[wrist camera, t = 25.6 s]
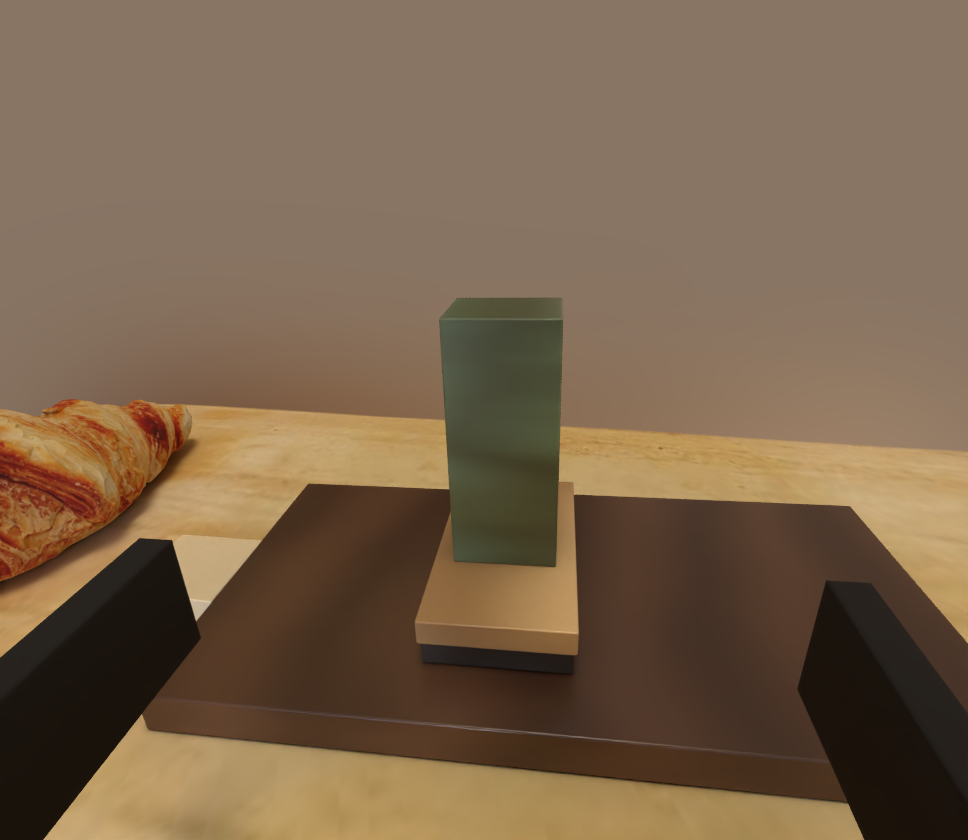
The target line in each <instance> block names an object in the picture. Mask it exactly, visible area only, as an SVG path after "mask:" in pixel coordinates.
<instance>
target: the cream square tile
mask: <svg viewBox="0 0 968 840" xmlns="http://www.w3.org/2000/svg"><path fill="white" fill-rule="evenodd" d="M261 541H262V540H251V539H237V538H224V537H210V536H197V535H182V536H180V537H179V538H178V539H177V540H176V541H175V542H174V543H173V545H174V549H175V552H176V555H177V559H178V562H179V565H180V569H181V572H182V575H183V579H184V582H185V585H186V589H187V592H188V595H189V599H190V602H191V606H192V609H193V612H194V616H195V619H196V621H197V620H198V618H199V617H200V616H201V615H202V613H203V612H204V611H205V610H206V609H207V607H208V606H209V605H210V604H211V602H212V601H213V600H214V599H215V598H216V596H217V595H218V594H219V593H220V591H221V590H222V589H223V588H224V587H225V585H226V584H227V583H228V582H229V580H230V579H231V578H232V577H233V575H234V574H235V573H236V572H237V571H238V569H239V568H240V567H241V566H242V564H243V563H244V562H245V561H246V560H247V558H248V557H249V556H250V555H251V553H252V552H253V551H254V550H255V549H256V547H257V546H258V545H259V544H260V542H261Z"/></svg>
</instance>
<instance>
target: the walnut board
mask: <svg viewBox="0 0 968 840" xmlns="http://www.w3.org/2000/svg"><path fill="white" fill-rule="evenodd" d="M450 512H451V507H450V490H448V489H424V488H400V487H376V486H352V485H328V484H308V485H307V486H306V487H305V489H304V490H303V491H302V492H301V493H300V495H299V496H298V497H297V498H296V500H295V501H294V502H293V503H292V504H291V506H290V507H289V508H288V509H287V511H286V512H285V513H284V514H283V515H282V517H281V518H280V519H279V520H278V522H277V523H276V524H275V525H274V526H273V528H272V529H271V530H270V531H269V533H268V534H267V535H266V536H265V538H264V539H263V540H262V541H261V542H260V544H259V545H258V546H257V547H256V549H255V550H254V551H253V552H252V553H251V555H250V556H249V557H248V558H247V560H246V561H245V562H244V563H243V564H242V566H241V567H240V568H239V569H238V571H237V572H236V573H235V574H234V575H233V577H232V578H231V579H230V580H229V582H228V583H227V584H226V585H225V587H224V588H223V589H222V590H221V591H220V593H219V594H218V595H217V596H216V598H215V599H214V600H213V601H212V602H211V604H210V605H209V606H208V607H207V609H206V610H205V611H204V612H203V613H202V615H201V616H200V617H199V618H198V620H197V621H196V622H197V626H198V629H199V632H200V636H201V639H200V640H199V642H198V643H197V644H196V645H195V647H194V648H193V649H192V650H191V652H190V653H189V654H188V656H187V657H186V658H185V659H184V661H183V662H182V663H181V665H180V666H179V667H178V668H177V670H176V671H175V672H174V673H173V675H172V676H171V677H170V679H169V680H168V681H167V682H166V684H165V685H164V686H163V687H162V689H161V690H160V691H159V693H158V694H157V695H156V696H155V698H154V699H153V700H152V702H151V703H150V704H149V705H148V707H147V708H146V709H145V710H144V712H143V713H142V715H143V718H144V720H145V723H146V725H147V728H148V729H153V730H163V731H172V732H182V733H191V734H201V735H211V736H220V737H230V738H240V739H249V740H259V741H269V742H278V743H288V744H298V745H307V746H317V747H327V748H336V749H346V750H356V751H365V752H375V753H384V754H394V755H404V756H413V757H423V758H433V759H442V760H452V761H462V762H471V763H481V764H491V765H500V766H510V767H520V768H529V769H539V770H548V771H558V772H568V773H577V774H587V775H597V776H606V777H616V778H626V779H635V780H645V781H655V782H664V783H674V784H684V785H693V786H703V787H712V788H722V789H732V790H741V791H751V792H761V793H770V794H780V795H790V796H799V797H809V798H819V799H828V800H838V801H847V800H846V797H845V795H844V793H843V791H842V788H841V786H840V784H839V782H838V780H837V777H836V775H835V773H834V771H833V768H832V766H831V764H830V762H829V759H828V757H827V755H826V753H825V750H824V748H823V746H822V744H821V741H820V739H819V737H818V735H817V733H816V730H815V728H814V726H813V724H812V721H811V719H810V717H809V715H808V712H807V710H806V708H805V706H804V703H803V701H802V699H801V697H800V694H799V692H798V690H797V688H798V684H799V680H800V676H801V673H802V669H803V665H804V661H805V658H806V654H807V650H808V646H809V643H810V639H811V635H812V631H813V628H814V624H815V620H816V616H817V613H818V609H819V605H820V601H821V598H822V594H823V590H824V586H825V583H826V580H830V581H846V582H862V583H871V584H872V585H873V586H874V588H875V589H876V590H877V592H878V593H879V594H880V596H881V597H882V598H883V600H884V601H885V602H886V604H887V605H888V606H889V608H890V609H891V610H892V612H893V613H894V615H895V616H896V617H897V619H898V620H899V621H900V623H901V624H902V625H903V627H904V628H905V629H906V631H907V632H908V633H909V635H910V636H911V637H912V639H913V640H914V641H915V643H916V644H917V645H918V647H919V648H920V650H921V651H922V652H923V654H924V655H925V656H926V658H927V659H928V660H929V662H930V663H931V664H932V666H933V667H934V668H935V670H936V671H937V672H938V674H939V675H940V676H941V678H942V679H943V681H944V682H945V683H946V685H947V686H948V687H949V689H950V690H951V691H952V693H953V694H954V695H955V697H956V698H957V699H958V701H959V702H960V703H961V705H962V706H963V707H964V709H965V710H966V711H967V713H968V643H967V642H966V641H965V640H964V638H963V637H962V636H961V635H960V634H959V633H958V631H957V630H956V629H955V628H954V627H953V626H952V624H951V623H950V622H949V621H948V620H947V619H946V617H945V616H944V615H943V614H942V613H941V612H940V610H939V609H938V608H937V607H936V606H935V605H934V604H933V602H932V601H931V600H930V599H929V598H928V597H927V595H926V594H925V593H924V592H923V591H922V590H921V588H920V587H919V586H918V585H917V584H916V583H915V581H914V580H913V579H912V578H911V577H910V576H909V574H908V573H907V572H906V571H905V570H904V569H903V567H902V566H901V565H900V564H899V563H898V562H897V561H896V559H895V558H894V557H893V556H892V555H891V554H890V552H889V551H888V550H887V549H886V548H885V547H884V545H883V544H882V543H881V542H880V541H879V540H878V538H877V537H876V536H875V535H874V534H873V533H872V531H871V530H870V529H869V528H868V527H867V526H866V524H865V523H864V522H863V521H862V520H861V519H860V517H859V516H858V515H857V514H856V513H855V512H854V511H853V509H852V508H851V507H850V506H834V505H810V504H785V503H761V502H737V501H713V500H689V499H665V498H641V497H617V496H593V495H574V513H575V541H576V568H577V596H578V623H579V641H578V654H577V655H574V670H573V673H572V674H565V673H552V672H540V671H528V670H515V669H503V668H490V667H478V666H466V665H453V664H441V663H429V662H423V659H422V649H421V644H419V643H417V642H416V632H415V619H416V616H417V613H418V610H419V607H420V604H421V601H422V597H423V594H424V591H425V588H426V585H427V582H428V579H429V576H430V573H431V570H432V567H433V564H434V561H435V558H436V555H437V552H438V549H439V546H440V543H441V540H442V537H443V534H444V530H445V527H446V524H447V521H448V518H449V515H450Z"/></svg>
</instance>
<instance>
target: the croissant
mask: <svg viewBox="0 0 968 840" xmlns="http://www.w3.org/2000/svg"><path fill="white" fill-rule="evenodd" d="M42 412H43V414H41V415H40V416H39V417H35V416H31V415H28V414H24V413H19V412H15V411H10V410H5V409H0V581H3V580H6V579H10V578H12V577H14V576H17V575H19V574H21V573H24V572H26V571H28V570H31V569H33V568H35V567H37V566H39V565H40V564H42V563H44V562H45V561H47V560H50V559H52V558H55V557H57V556H58V555H59V554H60V553H61V552H62V551H63V550H65V549H66V548H68V547H69V546H70V545H72V544H74V543H76V542H78V541H80V540H81V539H83V538H85V537H87V536H89V535H91V534H93V533H94V532H96V531H98V530H100V529H101V528H103V527H105V526H106V525H108V524H109V523H111V522H112V521H113V520H115V519H116V518H117V517H118V516H119V515H120V514H121V513H122V512H123V511H124V510H125V509H126V508H127V507H128V506H130V505H131V504H132V503H133V502H134V501H135V500H136V499H137V497H138V496H139V495H140V494H141V491H142V489H143V487H145V486H146V482H151V481H152V480H153V479H154V478H155V477H156V476H157V475H158V474H159V473H160V472H161V471H162V470H163V468H164V467H165V465H166V463H167V460H168V458H169V456H170V455H171V454H172V453H174V452H177V451H178V450H179V449H180V447H181V446H182V445H183V444H184V442H185V441H186V439H187V438H188V436H189V434H190V432H191V427H192V416H191V414H190V413H189V411H188V410H187V408H186V406H184V405H183V404H180V405H175V406H174V407H172V408H168V407H166V406H159V405H157V404H156V403H148V402H145V401H143V400H133V401H132V402H131V403H129V404H128V405H127V406H125V407H123V406H115V405H112V404H107V405H98V404H96V403H94V402H89V401H81V400H77V399H71V400H63V401H61V402H59V403H58V404H56V405H54V406H53V407H51V408H48V409H45V410H42Z"/></svg>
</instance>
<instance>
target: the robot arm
mask: <svg viewBox="0 0 968 840" xmlns="http://www.w3.org/2000/svg"><path fill="white" fill-rule="evenodd" d="M200 639H201V636H200V632H199V629H198V626H197V622H196V619H195V616H194V612H193V609H192V606H191V602H190V599H189V595H188V592H187V589H186V585H185V582H184V579H183V575H182V572H181V569H180V565H179V562H178V559H177V555H176V552H175V549H174V545H173V542H172V540H159V539H143V538H139V539H138V540H137V541H136V542H135V543H134V544H132V545H131V546H130V547H129V548H128V549H127V550H125V551H124V552H123V553H122V554H121V555H120V556H118V557H117V558H116V559H115V560H114V561H113V562H111V563H110V564H109V565H108V566H107V567H106V568H104V569H103V570H102V571H101V572H100V573H99V574H97V575H96V576H95V577H94V578H93V579H92V580H90V581H89V582H88V583H87V584H86V585H85V586H83V587H82V588H81V589H80V590H79V591H78V592H76V593H75V594H74V595H73V596H72V597H71V598H69V599H68V600H67V601H66V602H65V603H64V604H62V605H61V606H60V607H59V608H58V609H57V610H55V611H54V612H53V613H52V614H51V615H50V616H48V617H47V618H46V619H45V620H44V621H43V622H41V623H40V624H39V625H38V626H37V627H36V628H34V629H33V630H32V631H31V632H30V633H29V634H27V635H26V636H25V637H24V638H23V639H22V640H20V641H19V642H18V643H17V644H16V645H15V646H13V647H12V648H11V649H10V650H9V651H8V652H6V653H5V654H4V655H3V656H2V657H1V658H0V840H43V839H44V838H45V837H46V835H47V834H48V833H49V832H50V830H51V829H52V828H53V827H54V825H55V824H56V823H57V821H58V820H59V819H60V818H61V816H62V815H63V814H64V812H65V811H66V810H67V809H68V807H69V806H70V805H71V804H72V802H73V801H74V800H75V798H76V797H77V796H78V795H79V793H80V792H81V791H82V790H83V788H84V787H85V786H86V784H87V783H88V782H89V781H90V779H91V778H92V777H93V775H94V774H95V773H96V772H97V770H98V769H99V768H100V767H101V765H102V764H103V763H104V761H105V760H106V759H107V758H108V756H109V755H110V754H111V753H112V751H113V750H114V749H115V747H116V746H117V745H118V744H119V742H120V741H121V740H122V738H123V737H124V736H125V735H126V733H127V732H128V731H129V730H130V728H131V727H132V726H133V724H134V723H135V722H136V721H137V719H138V718H139V717H140V716H141V714H142V713H143V712H144V710H145V709H146V708H147V707H148V705H149V704H150V703H151V702H152V700H153V699H154V698H155V696H156V695H157V694H158V693H159V691H160V690H161V689H162V687H163V686H164V685H165V684H166V682H167V681H168V680H169V679H170V677H171V676H172V675H173V673H174V672H175V671H176V670H177V668H178V667H179V666H180V665H181V663H182V662H183V661H184V659H185V658H186V657H187V656H188V654H189V653H190V652H191V650H192V649H193V648H194V647H195V645H196V644H197V643H198V642H199V640H200ZM797 690H798V692H799V694H800V697H801V699H802V701H803V703H804V706H805V708H806V710H807V712H808V715H809V717H810V719H811V721H812V724H813V726H814V728H815V730H816V733H817V735H818V737H819V739H820V741H821V744H822V746H823V748H824V750H825V753H826V755H827V757H828V759H829V762H830V764H831V766H832V768H833V771H834V773H835V775H836V777H837V780H838V782H839V784H840V786H841V788H842V791H843V793H844V795H845V797H846V800H847V802H848V804H849V806H850V809H851V811H852V813H853V815H854V818H855V820H856V822H857V824H858V827H859V829H860V831H861V833H862V835H863V838H864V840H968V713H967V711H966V710H965V709H964V707H963V706H962V705H961V703H960V702H959V701H958V699H957V698H956V697H955V695H954V694H953V693H952V691H951V690H950V689H949V687H948V686H947V685H946V683H945V682H944V681H943V679H942V678H941V676H940V675H939V674H938V672H937V671H936V670H935V668H934V667H933V666H932V664H931V663H930V662H929V660H928V659H927V658H926V656H925V655H924V654H923V652H922V651H921V650H920V648H919V647H918V645H917V644H916V643H915V641H914V640H913V639H912V637H911V636H910V635H909V633H908V632H907V631H906V629H905V628H904V627H903V625H902V624H901V623H900V621H899V620H898V619H897V617H896V616H895V615H894V613H893V612H892V610H891V609H890V608H889V606H888V605H887V604H886V602H885V601H884V600H883V598H882V597H881V596H880V594H879V593H878V592H877V590H876V589H875V588H874V586H873V585H872V584H871V583H862V582H846V581H830V580H826V583H825V586H824V590H823V594H822V598H821V601H820V605H819V609H818V613H817V616H816V620H815V624H814V628H813V631H812V635H811V639H810V643H809V646H808V650H807V654H806V658H805V661H804V665H803V669H802V673H801V676H800V680H799V684H798V688H797Z"/></svg>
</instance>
